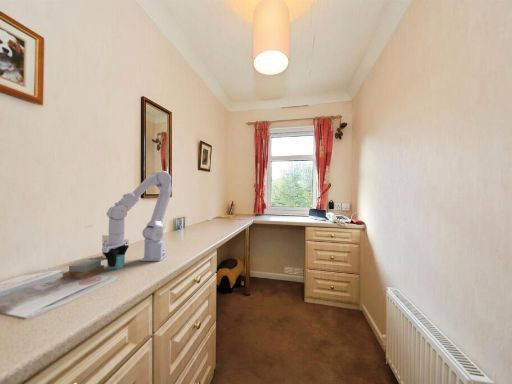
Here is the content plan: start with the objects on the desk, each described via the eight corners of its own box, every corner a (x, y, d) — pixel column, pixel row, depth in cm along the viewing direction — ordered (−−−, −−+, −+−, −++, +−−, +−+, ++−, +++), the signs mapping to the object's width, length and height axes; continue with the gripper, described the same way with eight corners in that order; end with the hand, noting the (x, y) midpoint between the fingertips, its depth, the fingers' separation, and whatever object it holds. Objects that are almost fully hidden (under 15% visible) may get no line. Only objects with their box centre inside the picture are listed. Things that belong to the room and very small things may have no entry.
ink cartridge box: (116, 253, 109) (116, 225, 109) (124, 253, 108) (124, 226, 108) (101, 258, 101) (101, 228, 101) (109, 258, 100) (110, 229, 100)
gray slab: (100, 265, 85) (100, 260, 85) (86, 272, 78) (86, 265, 78) (84, 265, 85) (84, 259, 85) (68, 272, 78) (69, 265, 78)
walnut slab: (103, 271, 86) (103, 265, 86) (86, 280, 77) (86, 273, 77) (82, 271, 86) (82, 265, 86) (62, 280, 77) (62, 273, 77)
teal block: (124, 265, 91) (124, 254, 91) (117, 269, 86) (118, 257, 86) (114, 265, 91) (114, 254, 91) (107, 269, 86) (107, 257, 86)
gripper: (118, 230, 96) (117, 258, 96) (94, 236, 81) (94, 270, 81) (133, 230, 96) (132, 258, 96) (112, 237, 82) (111, 270, 81)
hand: (116, 264), depth 89 cm, fingers closed on teal block, 4 cm apart
